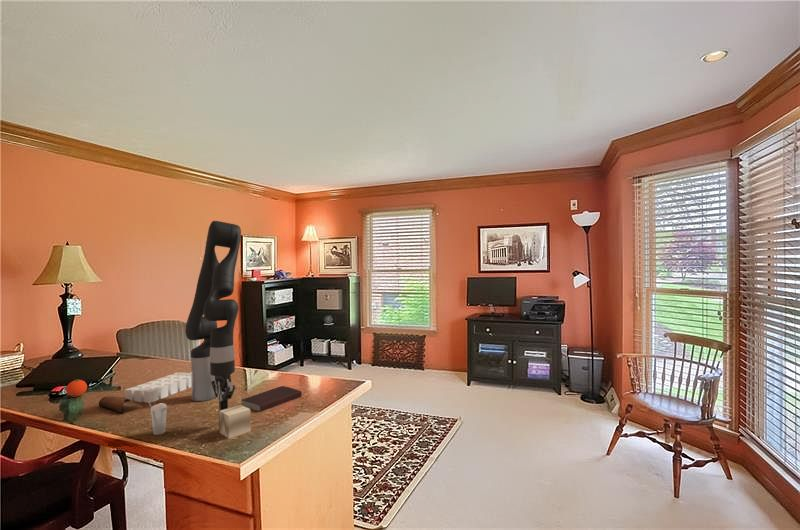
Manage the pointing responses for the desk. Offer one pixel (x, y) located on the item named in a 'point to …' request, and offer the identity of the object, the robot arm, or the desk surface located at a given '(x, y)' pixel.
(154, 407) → the milkshake
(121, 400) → the sunglasses case
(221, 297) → the robot arm
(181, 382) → the organizer
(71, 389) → the clementine
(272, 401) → the book
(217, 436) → the desk surface
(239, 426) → the maple block
